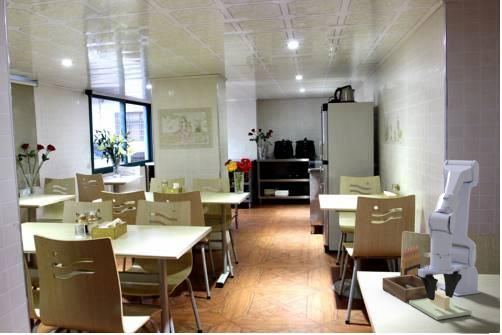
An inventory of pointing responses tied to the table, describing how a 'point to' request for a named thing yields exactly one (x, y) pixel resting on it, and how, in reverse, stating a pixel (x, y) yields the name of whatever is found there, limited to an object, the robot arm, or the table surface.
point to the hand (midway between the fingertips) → (439, 297)
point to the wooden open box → (405, 287)
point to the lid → (440, 307)
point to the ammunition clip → (410, 261)
